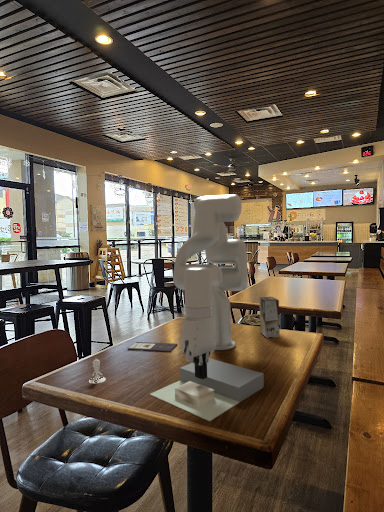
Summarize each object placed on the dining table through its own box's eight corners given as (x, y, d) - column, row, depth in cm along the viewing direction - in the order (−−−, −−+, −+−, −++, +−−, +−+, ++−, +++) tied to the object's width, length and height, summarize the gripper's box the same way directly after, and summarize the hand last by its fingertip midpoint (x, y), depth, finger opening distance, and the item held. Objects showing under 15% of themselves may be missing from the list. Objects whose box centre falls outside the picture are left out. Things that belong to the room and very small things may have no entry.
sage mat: (149, 394, 96) (149, 393, 96) (180, 380, 105) (180, 380, 105) (209, 421, 81) (209, 420, 81) (239, 402, 90) (239, 401, 90)
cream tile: (190, 380, 98) (190, 389, 98) (174, 388, 94) (175, 397, 94) (214, 389, 92) (214, 398, 92) (199, 397, 88) (199, 407, 88)
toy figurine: (108, 376, 110) (107, 354, 110) (99, 387, 102) (98, 363, 102) (92, 376, 111) (91, 354, 110) (82, 387, 103) (80, 363, 102)
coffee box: (280, 337, 146) (279, 300, 145) (265, 338, 146) (264, 300, 145) (273, 331, 155) (272, 296, 155) (259, 332, 155) (258, 297, 154)
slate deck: (180, 380, 105) (179, 367, 105) (206, 369, 114) (205, 357, 114) (239, 402, 90) (238, 387, 90) (263, 387, 99) (263, 373, 98)
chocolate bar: (170, 350, 132) (127, 348, 136) (170, 353, 132) (127, 351, 136) (177, 343, 141) (136, 342, 145) (177, 346, 141) (136, 344, 145)
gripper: (206, 305, 103) (208, 366, 104) (169, 315, 92) (172, 382, 93) (226, 308, 97) (228, 372, 98) (189, 319, 87) (192, 390, 88)
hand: (201, 377), depth 96 cm, fingers closed
